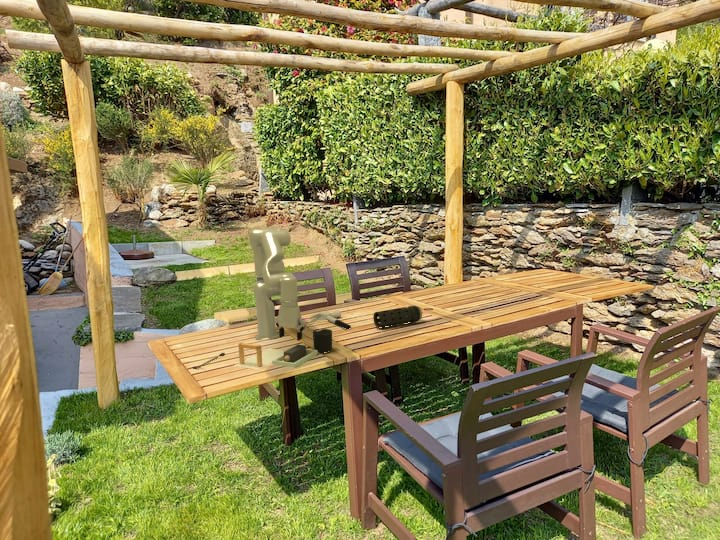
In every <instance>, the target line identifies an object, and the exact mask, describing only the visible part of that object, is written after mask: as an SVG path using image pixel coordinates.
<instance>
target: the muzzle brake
mask: <svg viewBox="0 0 720 540" xmlns="http://www.w3.org/2000/svg"><path fill="white" fill-rule="evenodd" d="M422 318H423V312H422V308H421V307H420V306H418V305H409V306H407V307H405V306H404V307H399V308H393V309H386V310H381V311H380V310H379V311H375V312H374V313H373V318H372V319H373V323H374V326H375V327H376V328H377V327H378V328H379V327H385V326H391V325H397V324H399V325H404V324H403V323H408V322H411V323H415V322H416V321H417V322H419V321H420V320H422ZM397 326H398V325H397ZM378 328H377V329H378Z"/></svg>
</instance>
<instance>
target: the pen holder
mask: <svg viewBox="0 0 720 540" xmlns="http://www.w3.org/2000/svg"><path fill="white" fill-rule="evenodd" d="M312 339H313V340H312V341H313V350H318V353H324V352H328V351H331V350H332V351H333V330H332V329H328V328H322V329H320V330H312ZM332 351H331V352H332Z"/></svg>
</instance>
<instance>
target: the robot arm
mask: <svg viewBox="0 0 720 540" xmlns="http://www.w3.org/2000/svg"><path fill="white" fill-rule="evenodd" d="M248 240H249V244H250V247H251V249H252V252H253V262H254V273H255V276H256V277H257V278H260V279H261V280H258V281H256V282H254V284H253V287H252V289H253V293H254V299H255V307H256V320H257V323H256V324H257V325H256V326H257V334H256V335H255V339H256V340H259V341H261V340H275V339H277V338H283V337H285V328H287V329H288V328H289V329H296V331H297V332H296V340H297V341H298V342H299V341H301V340H302V339H303V331H304V330H305V329H306V327H307V325H308V324H307V321H304V320H303V319H302V317H301V314H302V313H301V309H300V306H299V302H298V301H299V300H298V280H297V277H296V276H294V274H293V273H291V272H286V266H285V263H284V258H285V253H284V250H283V247H288V246H290V245H291V235H290V233H289V231H288V230H287V229H286V228H285V229H284V228H282V227H280V226H279V227H263V228H255V229H254V228H253V229H251V230H250V231H249V233H248ZM273 297H280V299H279V301H278V302H279V303H280V305H279V308H278V317H276V316H275V315H276V313H275V310H276V309H275V304H274V302H273V301H272V300H271V299H270V298H273Z"/></svg>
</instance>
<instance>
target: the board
mask: <svg viewBox="0 0 720 540" xmlns="http://www.w3.org/2000/svg"><path fill="white" fill-rule="evenodd" d="M285 351H286V350H283V349H275V348H266V349H264V350H262V366H260V367H259V366H257V353H256V354H254V355H252V356H250V357H248V358H245V359H244V360H245V362H244V363H242V364H240V362H238V363H237V364H234V365H233V366H234V367H238V368H239V367H240V368H246V369H251V370H257V371H259V370H261V369H263V368H264V367H266V366H268V365H270V364H272V360H274V359H276V358H278V357H280V356H282V355H284V352H285Z"/></svg>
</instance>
